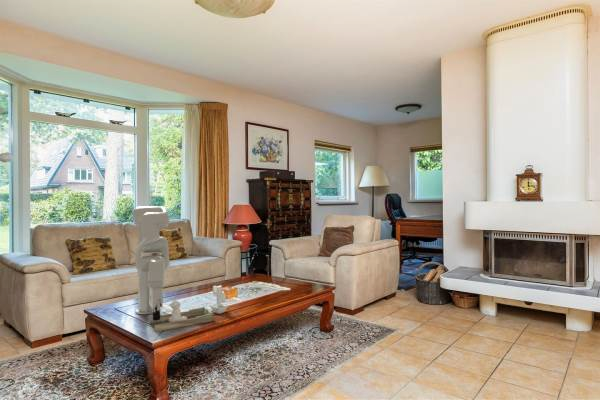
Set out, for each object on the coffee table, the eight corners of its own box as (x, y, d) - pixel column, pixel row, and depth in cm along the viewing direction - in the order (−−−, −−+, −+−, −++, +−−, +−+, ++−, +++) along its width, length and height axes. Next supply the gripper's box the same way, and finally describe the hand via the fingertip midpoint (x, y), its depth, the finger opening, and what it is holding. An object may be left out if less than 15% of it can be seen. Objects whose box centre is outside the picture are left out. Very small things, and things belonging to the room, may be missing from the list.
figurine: (219, 315, 204) (219, 288, 204) (208, 311, 210) (208, 285, 210) (229, 312, 210) (229, 286, 210) (218, 308, 216) (218, 283, 215)
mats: (150, 323, 190) (150, 323, 190) (161, 321, 193) (161, 321, 193) (155, 330, 181) (155, 330, 181) (167, 328, 184) (167, 327, 184)
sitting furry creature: (187, 319, 197) (187, 297, 197) (184, 325, 189) (184, 302, 188) (168, 320, 196) (168, 298, 195) (165, 326, 187) (165, 302, 187)
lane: (149, 323, 191) (149, 315, 191) (204, 313, 207) (204, 306, 207) (154, 331, 180) (154, 323, 179) (213, 320, 196) (213, 313, 196)
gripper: (145, 281, 190) (145, 316, 191) (151, 287, 178) (151, 325, 178) (160, 279, 194) (160, 314, 195) (167, 285, 182) (167, 322, 182)
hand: (156, 319), depth 186 cm, fingers closed
